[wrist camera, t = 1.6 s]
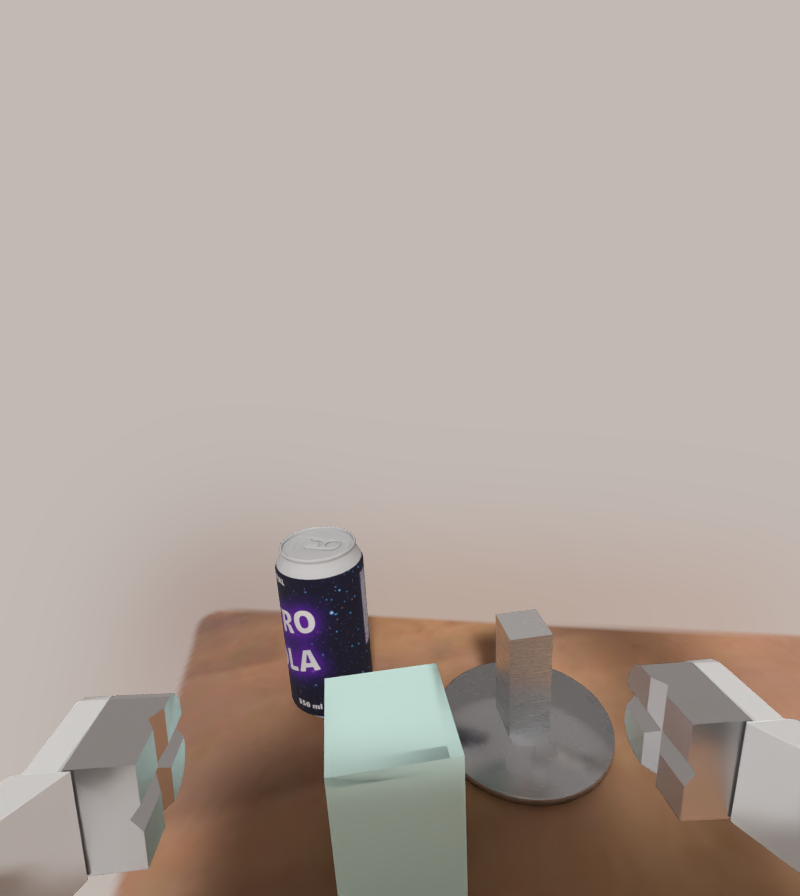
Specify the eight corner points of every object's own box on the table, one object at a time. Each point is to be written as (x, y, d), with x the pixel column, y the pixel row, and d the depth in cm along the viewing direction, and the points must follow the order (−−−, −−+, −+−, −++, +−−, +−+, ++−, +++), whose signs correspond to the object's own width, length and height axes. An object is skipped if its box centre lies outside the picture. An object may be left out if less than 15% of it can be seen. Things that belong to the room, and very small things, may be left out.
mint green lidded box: (441, 801, 28) (436, 663, 26) (468, 915, 23) (464, 755, 21) (339, 818, 28) (324, 678, 25) (343, 941, 22) (323, 778, 20)
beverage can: (309, 666, 40) (292, 522, 36) (381, 671, 39) (370, 524, 35) (280, 723, 34) (257, 561, 31) (363, 731, 33) (348, 565, 30)
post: (565, 657, 39) (568, 569, 37) (653, 787, 28) (664, 673, 26) (422, 678, 38) (418, 587, 36) (459, 821, 27) (456, 704, 25)
